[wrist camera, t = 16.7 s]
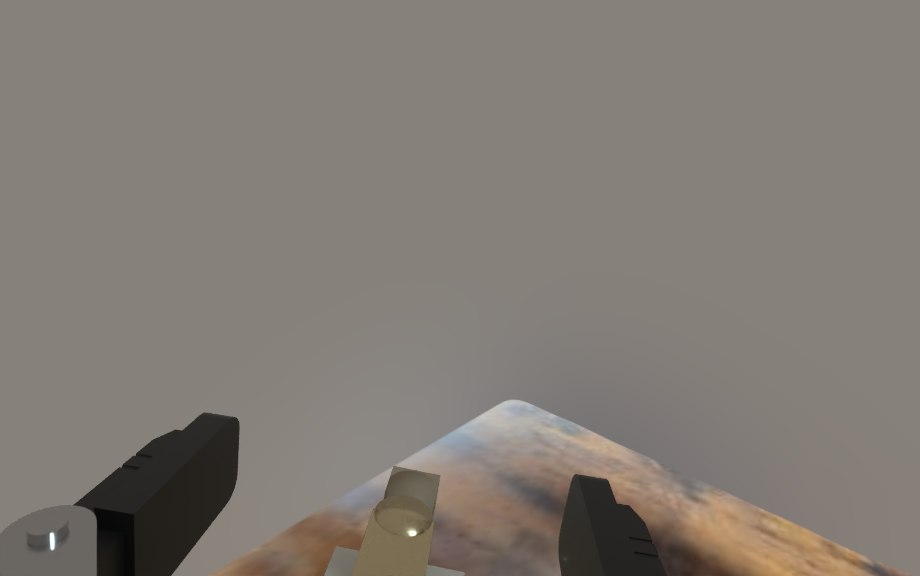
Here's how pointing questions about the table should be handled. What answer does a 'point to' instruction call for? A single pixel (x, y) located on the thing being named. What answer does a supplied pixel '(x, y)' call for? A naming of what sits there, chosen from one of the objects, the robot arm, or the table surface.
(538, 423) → the table surface
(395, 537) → the brown tall block
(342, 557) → the mounting plate
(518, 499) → the table surface
